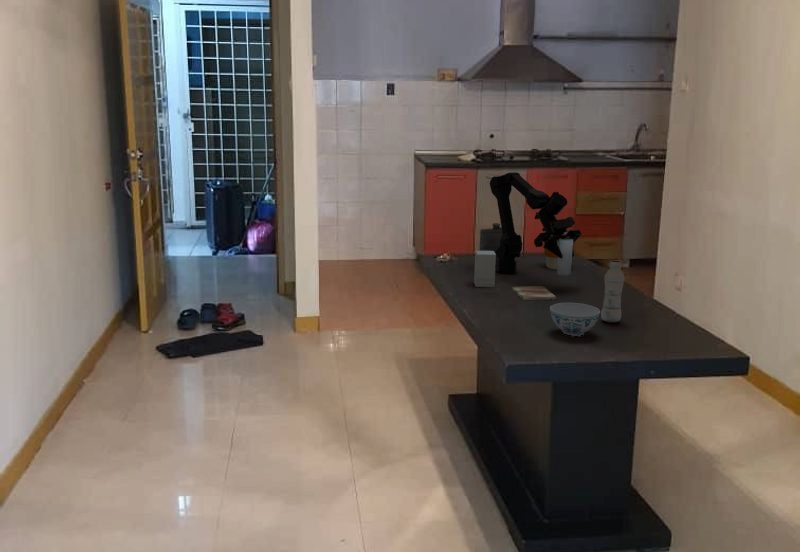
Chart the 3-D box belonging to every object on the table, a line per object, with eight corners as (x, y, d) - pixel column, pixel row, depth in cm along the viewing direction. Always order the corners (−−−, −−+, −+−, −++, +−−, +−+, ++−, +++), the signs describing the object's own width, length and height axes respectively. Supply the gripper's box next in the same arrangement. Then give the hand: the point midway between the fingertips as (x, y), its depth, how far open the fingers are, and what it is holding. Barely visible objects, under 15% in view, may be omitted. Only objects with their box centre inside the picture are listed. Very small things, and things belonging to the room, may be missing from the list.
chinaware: (562, 322, 252) (564, 299, 250) (606, 332, 243) (608, 308, 241) (539, 333, 241) (541, 309, 239) (584, 344, 232) (586, 319, 230)
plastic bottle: (598, 322, 253) (602, 262, 248) (603, 317, 259) (608, 258, 254) (618, 325, 250) (623, 264, 245) (622, 320, 256) (628, 260, 251)
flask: (477, 265, 329) (478, 223, 325) (508, 264, 333) (510, 222, 329) (480, 267, 326) (482, 224, 322) (512, 266, 330) (514, 223, 325)
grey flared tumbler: (555, 274, 287) (558, 239, 284) (557, 271, 292) (560, 237, 289) (569, 276, 286) (572, 240, 282) (571, 273, 290) (574, 238, 287)
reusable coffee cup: (540, 269, 325) (542, 233, 322) (543, 262, 337) (546, 228, 333) (571, 271, 322) (573, 235, 318) (573, 265, 333) (576, 230, 330)
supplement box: (494, 287, 295) (496, 254, 292) (475, 287, 295) (476, 254, 292) (492, 282, 302) (494, 250, 299) (473, 282, 302) (475, 250, 299)
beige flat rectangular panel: (511, 289, 292) (512, 286, 292) (542, 288, 294) (543, 286, 293) (523, 300, 278) (523, 297, 277) (556, 299, 279) (556, 296, 279)
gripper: (541, 211, 282) (559, 247, 275) (580, 207, 291) (598, 242, 284) (525, 228, 290) (543, 264, 284) (564, 225, 299) (582, 259, 293)
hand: (567, 257), depth 286 cm, fingers closed on grey flared tumbler, 5 cm apart
